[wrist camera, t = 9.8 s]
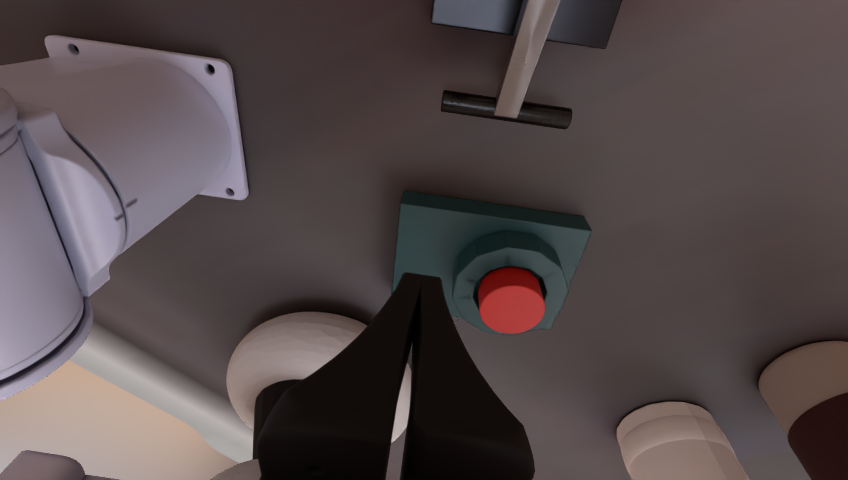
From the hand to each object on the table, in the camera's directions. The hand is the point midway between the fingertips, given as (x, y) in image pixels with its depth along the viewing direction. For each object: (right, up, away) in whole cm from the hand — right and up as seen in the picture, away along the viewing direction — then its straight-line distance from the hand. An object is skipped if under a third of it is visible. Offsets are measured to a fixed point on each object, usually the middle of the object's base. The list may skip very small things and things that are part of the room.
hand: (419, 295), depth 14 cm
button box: (+4, +1, +11) cm, 12 cm away
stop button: (+5, -1, +9) cm, 10 cm away
